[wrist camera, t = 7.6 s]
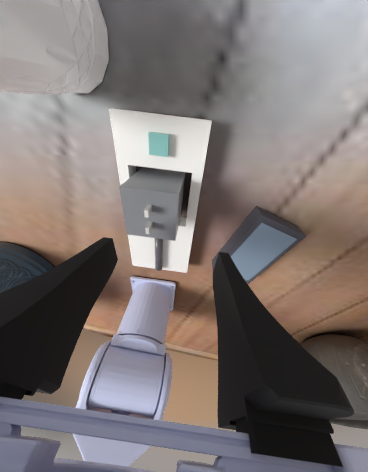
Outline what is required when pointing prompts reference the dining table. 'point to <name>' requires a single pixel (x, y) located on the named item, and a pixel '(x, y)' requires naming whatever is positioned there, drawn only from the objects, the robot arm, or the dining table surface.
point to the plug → (153, 202)
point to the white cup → (52, 46)
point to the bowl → (345, 371)
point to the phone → (260, 243)
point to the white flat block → (162, 157)
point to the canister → (19, 265)
